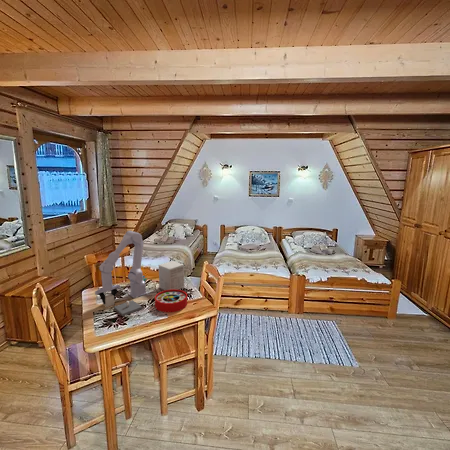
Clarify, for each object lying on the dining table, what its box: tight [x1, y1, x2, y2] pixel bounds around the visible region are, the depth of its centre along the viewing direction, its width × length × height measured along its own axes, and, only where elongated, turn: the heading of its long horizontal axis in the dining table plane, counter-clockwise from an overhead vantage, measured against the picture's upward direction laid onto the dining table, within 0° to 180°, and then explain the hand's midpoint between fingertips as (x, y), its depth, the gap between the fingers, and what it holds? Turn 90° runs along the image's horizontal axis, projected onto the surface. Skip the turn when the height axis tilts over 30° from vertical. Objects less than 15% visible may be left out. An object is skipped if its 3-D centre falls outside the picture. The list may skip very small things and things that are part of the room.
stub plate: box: [113, 300, 143, 317], centre depth 157 cm, size 12×12×5 cm
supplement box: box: [158, 260, 185, 291], centre depth 187 cm, size 13×13×18 cm
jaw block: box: [102, 292, 115, 308], centre depth 162 cm, size 5×5×6 cm
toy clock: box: [154, 289, 188, 313], centre depth 164 cm, size 20×6×20 cm
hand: (108, 302), depth 163 cm, fingers closed on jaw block, 5 cm apart
